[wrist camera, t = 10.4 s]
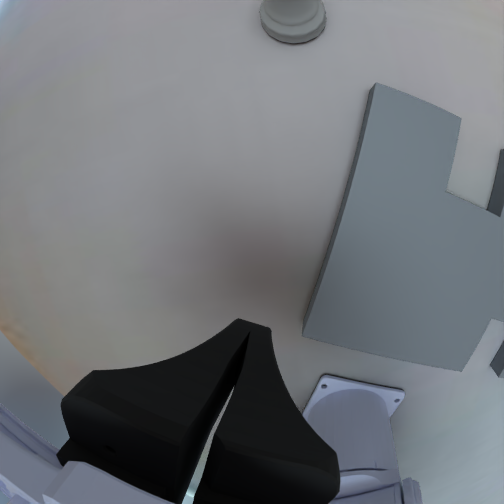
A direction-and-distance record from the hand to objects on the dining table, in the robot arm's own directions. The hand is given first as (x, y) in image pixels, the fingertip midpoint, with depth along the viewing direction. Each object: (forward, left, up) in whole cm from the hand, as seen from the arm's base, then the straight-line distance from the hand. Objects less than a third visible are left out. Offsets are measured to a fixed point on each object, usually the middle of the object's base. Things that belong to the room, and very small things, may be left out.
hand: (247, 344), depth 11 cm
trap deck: (+4, -16, -10) cm, 20 cm away
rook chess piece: (+17, +3, -11) cm, 20 cm away
